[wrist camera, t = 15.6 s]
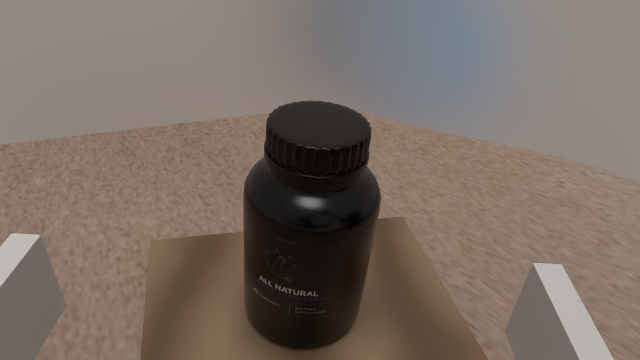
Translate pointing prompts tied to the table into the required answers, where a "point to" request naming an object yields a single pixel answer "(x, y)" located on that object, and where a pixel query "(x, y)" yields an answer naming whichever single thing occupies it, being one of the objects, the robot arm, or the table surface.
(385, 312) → the board
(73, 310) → the table surface
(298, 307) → the supplement bottle
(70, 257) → the table surface
